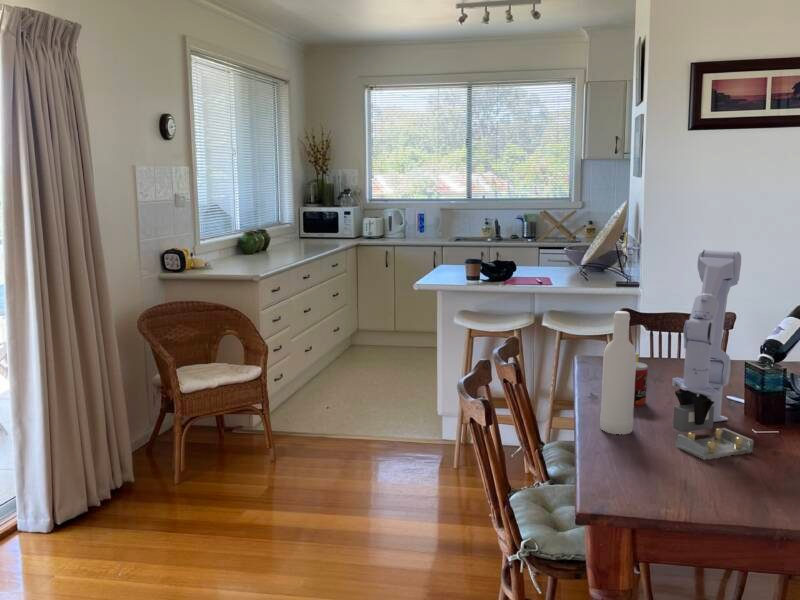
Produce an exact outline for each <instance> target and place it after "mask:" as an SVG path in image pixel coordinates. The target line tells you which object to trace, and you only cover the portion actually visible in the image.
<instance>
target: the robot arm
mask: <svg viewBox="0 0 800 600" xmlns="http://www.w3.org/2000/svg"><path fill="white" fill-rule="evenodd" d="M741 265H742V254H741V252H740V251H725V250H707V249H701V251H699V253H698V258H697V272H698V275H699V278H700V281H701V283H702V286H701V292H700V294H699V295H697V296H696V297H695V298H694V302H693V305H692V309H691V312H690V314H689V319H686V320H685V322H684V326H683V348H684V353H685V354H684V366H683V367H684V370H683V378H681V377H672V379H671V386H672V387H678V388H679V389H678V390H675V392H674V394H675V396H676V398H677V400H678V402H679V406H681V405H689V404H693V405H694V411H695V424H696V425H702V424H704V421H705V419H706V416H707V413H708V411H709V409H710V408H711V406H714V417H713V423H715V422H716V423H717V422H722V421H723V422H724V421H728V420H729V418H728V417H726V416H724V415H721V414H722V401H723V387H726V386H727V385H728V384H729V382H730V377H731V363H732V360H731V357H730V355H728V353H726V352H725V351H724V350H723V349H722V343H723V342H722V340H723V335H724V333H723V332H724V326H725V320H726V319H725V318H726V310H727V302H728V296H729V293H730V290H731V288H732V287H735V286H736V285H738V282H739V280H740V275H741V267H742V266H741Z"/></svg>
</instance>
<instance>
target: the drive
mask: <svg viewBox="0 0 800 600" xmlns="http://www.w3.org/2000/svg"><path fill="white" fill-rule="evenodd" d="M713 417H714V406H711V408H710V409H709V411H708V413H707V416H706V419H705V421H704V424H702V425H696V424H695V411H694V405H693V404H689V405H681V406H680V405H675V406H673V423H672V429H674V430H676V431H678V432H681V433H688V432H696V431H703V430H708V429H713V428H714V422H713Z"/></svg>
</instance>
